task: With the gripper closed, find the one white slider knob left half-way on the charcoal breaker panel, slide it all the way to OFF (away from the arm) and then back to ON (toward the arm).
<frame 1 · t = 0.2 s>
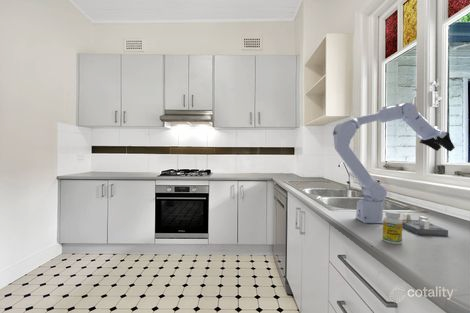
hand: (445, 149, 104), 31 cm above the worktop, tool tilted 45°, fingers open, 7 cm apart
supplement bottle: (391, 242, 82), on the worktop
breaker panel: (420, 229, 96), on the worktop
white slider knob: (423, 220, 96), point 4 cm above the worktop, slide at 3.0 cm
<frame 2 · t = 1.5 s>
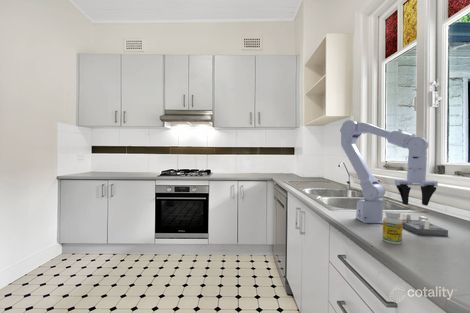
hand: (415, 204, 96), 9 cm above the worktop, tool pointing down, fingers open, 7 cm apart
nothing on the worktop moved.
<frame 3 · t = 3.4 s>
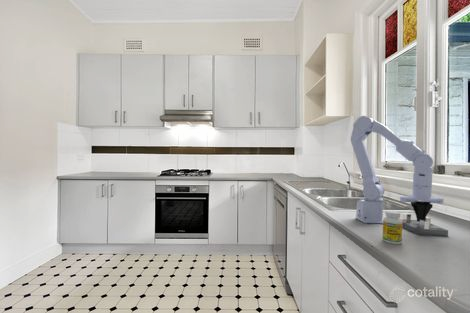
hand: (420, 221, 96), 3 cm above the worktop, tool pointing down, fingers closed
white slider knob: (425, 220, 96), point 4 cm above the worktop, slide at 4.0 cm, touching gripper
everything else where it was.
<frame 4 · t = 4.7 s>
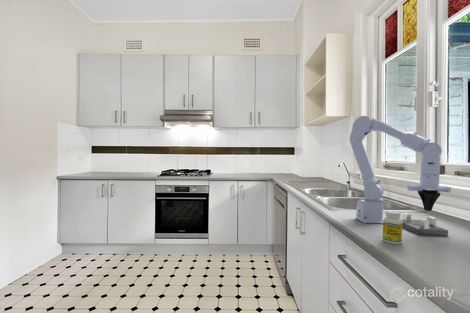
hand: (427, 210, 96), 7 cm above the worktop, tool pointing down, fingers closed
white slider knob: (431, 220, 96), point 4 cm above the worktop, slide at 6.1 cm
everything else where it was.
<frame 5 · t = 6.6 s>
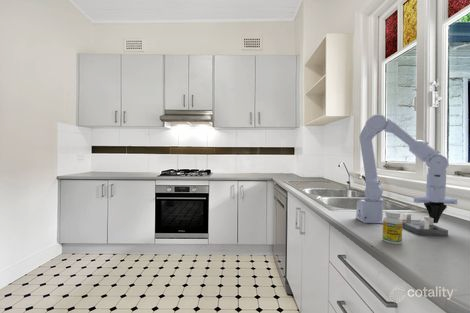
hand: (434, 222, 96), 3 cm above the worktop, tool pointing down, fingers closed
white slider knob: (428, 220, 96), point 4 cm above the worktop, slide at 5.0 cm, touching gripper
everything else where it was.
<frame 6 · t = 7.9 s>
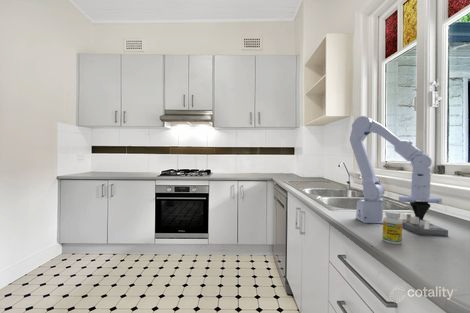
hand: (419, 221, 96), 3 cm above the worktop, tool pointing down, fingers closed
white slider knob: (414, 220, 96), point 4 cm above the worktop, slide at -0.2 cm, touching gripper
everything else where it was.
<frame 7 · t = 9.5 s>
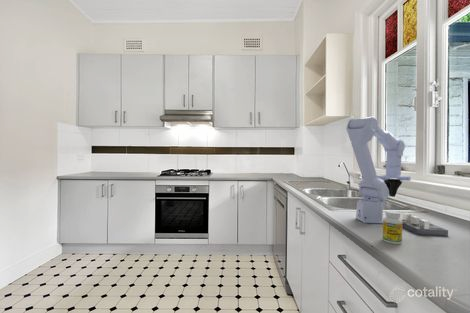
hand: (392, 196, 114), 9 cm above the worktop, tool pointing down, fingers closed
white slider knob: (414, 220, 96), point 4 cm above the worktop, slide at -0.1 cm
everything else where it was.
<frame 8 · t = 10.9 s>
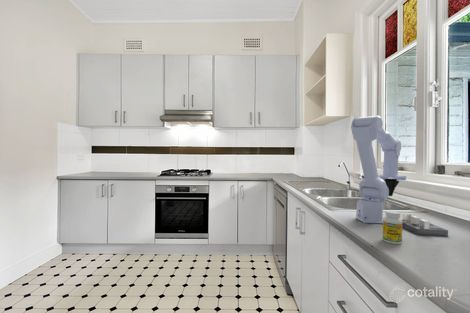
hand: (389, 195, 116), 9 cm above the worktop, tool pointing down, fingers closed
nothing on the worktop moved.
at the end: white slider knob slide at -0.1 cm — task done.
